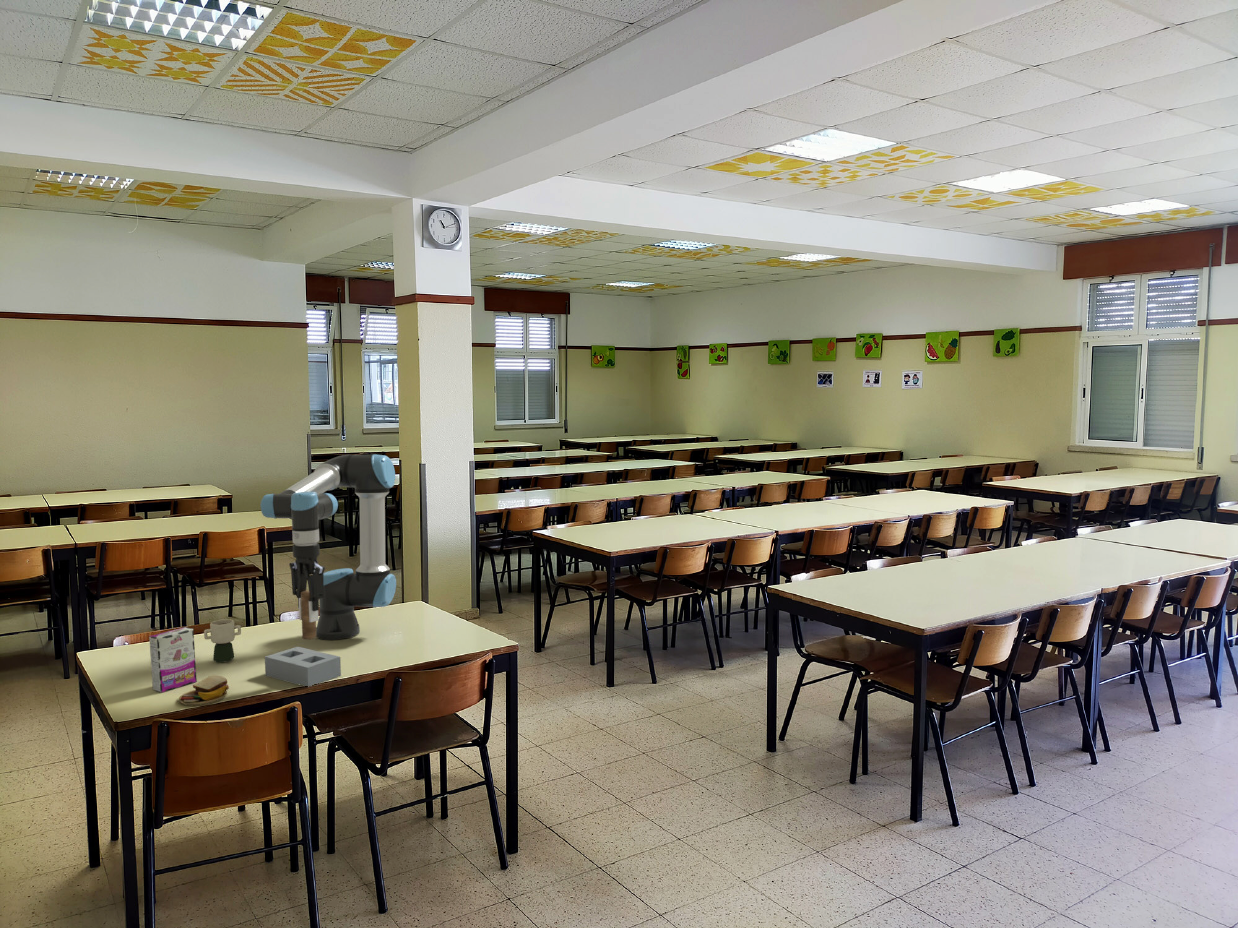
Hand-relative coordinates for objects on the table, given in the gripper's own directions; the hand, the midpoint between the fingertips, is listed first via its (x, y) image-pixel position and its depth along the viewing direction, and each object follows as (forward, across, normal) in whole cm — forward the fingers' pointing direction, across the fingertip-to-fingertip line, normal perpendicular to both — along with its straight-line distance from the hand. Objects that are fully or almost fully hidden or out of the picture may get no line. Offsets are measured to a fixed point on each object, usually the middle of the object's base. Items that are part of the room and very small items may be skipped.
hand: (308, 619), depth 259 cm
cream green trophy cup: (+19, -38, -4) cm, 43 cm away
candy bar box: (+19, -29, -26) cm, 43 cm away
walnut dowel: (+5, 0, 0) cm, 5 cm away
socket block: (+18, -4, 0) cm, 19 cm away
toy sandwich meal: (+19, -13, -27) cm, 35 cm away
